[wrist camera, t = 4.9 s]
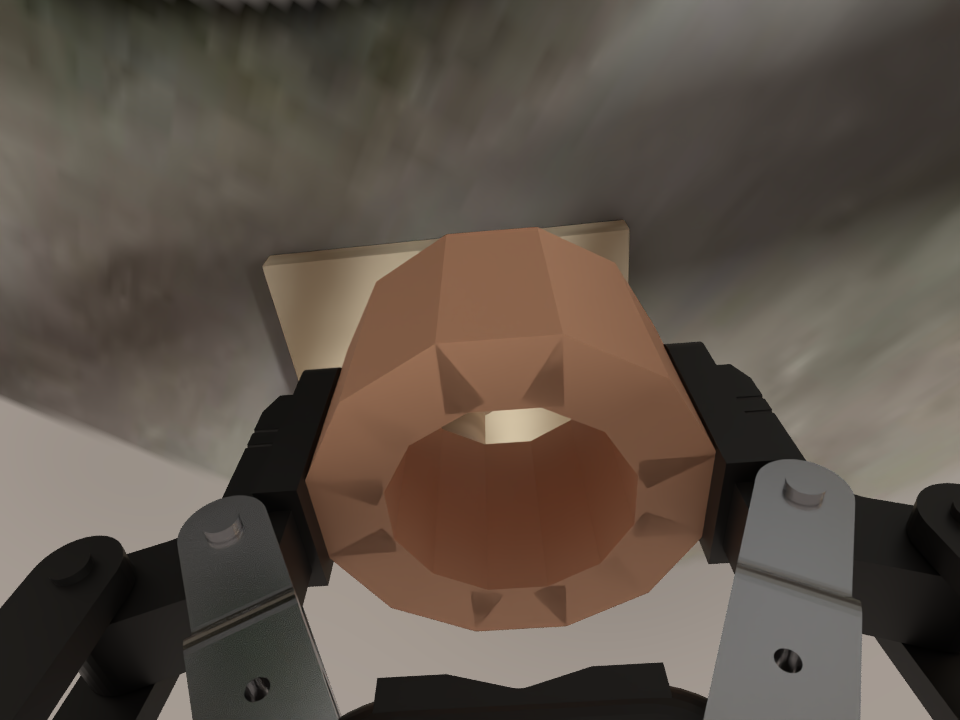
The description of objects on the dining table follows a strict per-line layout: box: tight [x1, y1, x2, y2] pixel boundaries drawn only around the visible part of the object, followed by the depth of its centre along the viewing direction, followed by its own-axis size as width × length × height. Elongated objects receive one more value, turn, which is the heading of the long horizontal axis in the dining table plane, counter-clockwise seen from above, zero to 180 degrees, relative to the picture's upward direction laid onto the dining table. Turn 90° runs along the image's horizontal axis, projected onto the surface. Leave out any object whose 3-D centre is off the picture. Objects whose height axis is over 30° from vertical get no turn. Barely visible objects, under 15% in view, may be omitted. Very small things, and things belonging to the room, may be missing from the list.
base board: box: [262, 220, 630, 444], centre depth 30 cm, size 16×12×1 cm
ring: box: [305, 227, 716, 631], centre depth 12 cm, size 6×6×4 cm
